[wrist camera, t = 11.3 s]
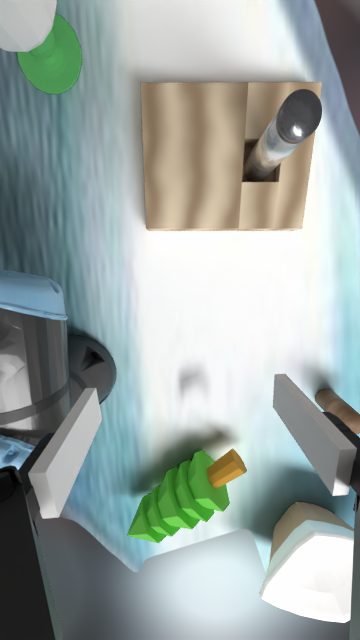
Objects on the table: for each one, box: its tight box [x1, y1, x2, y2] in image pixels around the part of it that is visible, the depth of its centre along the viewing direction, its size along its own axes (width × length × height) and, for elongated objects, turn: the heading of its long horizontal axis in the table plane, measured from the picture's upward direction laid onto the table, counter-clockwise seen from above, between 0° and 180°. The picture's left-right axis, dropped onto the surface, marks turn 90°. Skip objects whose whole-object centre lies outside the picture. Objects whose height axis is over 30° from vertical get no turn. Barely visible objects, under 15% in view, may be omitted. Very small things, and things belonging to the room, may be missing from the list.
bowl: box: [260, 502, 354, 623], centre depth 50 cm, size 24×25×11 cm
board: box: [141, 82, 322, 231], centre depth 33 cm, size 24×18×3 cm
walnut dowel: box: [315, 389, 360, 434], centre depth 42 cm, size 4×4×8 cm
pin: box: [243, 89, 322, 182], centre depth 28 cm, size 4×4×13 cm
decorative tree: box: [127, 449, 247, 543], centre depth 46 cm, size 11×12×30 cm
